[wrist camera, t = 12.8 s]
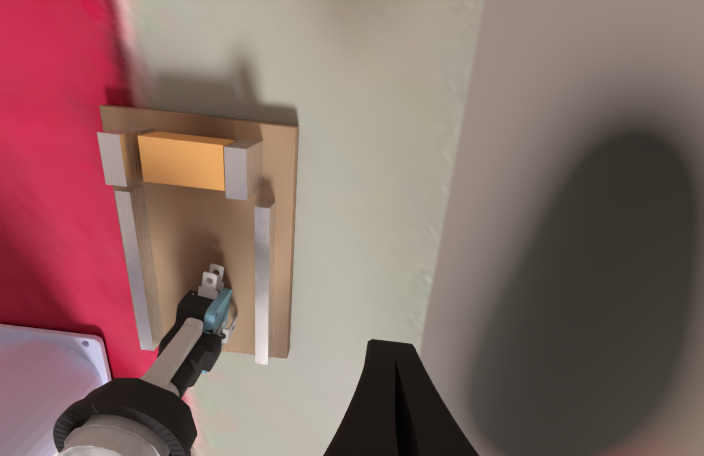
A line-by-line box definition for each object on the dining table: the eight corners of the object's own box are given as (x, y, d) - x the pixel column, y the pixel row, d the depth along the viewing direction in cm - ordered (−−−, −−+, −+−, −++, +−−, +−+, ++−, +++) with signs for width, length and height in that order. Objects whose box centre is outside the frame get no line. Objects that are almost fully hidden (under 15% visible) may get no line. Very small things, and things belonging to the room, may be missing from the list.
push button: (178, 248, 21) (19, 384, 11) (266, 272, 21) (182, 423, 12) (170, 335, 23) (35, 503, 14) (248, 355, 23) (168, 533, 14)
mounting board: (146, 333, 24) (139, 340, 23) (110, 104, 18) (99, 105, 18) (289, 350, 24) (286, 358, 23) (299, 126, 18) (295, 127, 17)
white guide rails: (152, 336, 23) (126, 365, 21) (120, 124, 18) (81, 130, 15) (272, 351, 23) (261, 381, 21) (276, 141, 18) (262, 150, 15)
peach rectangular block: (161, 173, 19) (143, 181, 17) (157, 131, 18) (137, 135, 16) (236, 182, 18) (224, 190, 17) (235, 140, 18) (222, 145, 16)
